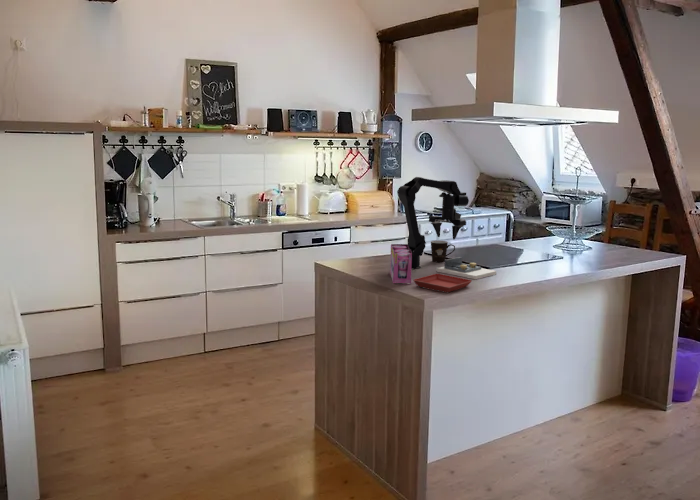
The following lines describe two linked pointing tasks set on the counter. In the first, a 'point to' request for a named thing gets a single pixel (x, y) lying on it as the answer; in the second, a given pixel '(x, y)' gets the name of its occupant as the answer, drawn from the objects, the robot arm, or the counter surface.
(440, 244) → the coffee mug
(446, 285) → the plant saucer
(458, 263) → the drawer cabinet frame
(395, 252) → the gum box
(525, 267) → the counter surface
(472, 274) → the board
